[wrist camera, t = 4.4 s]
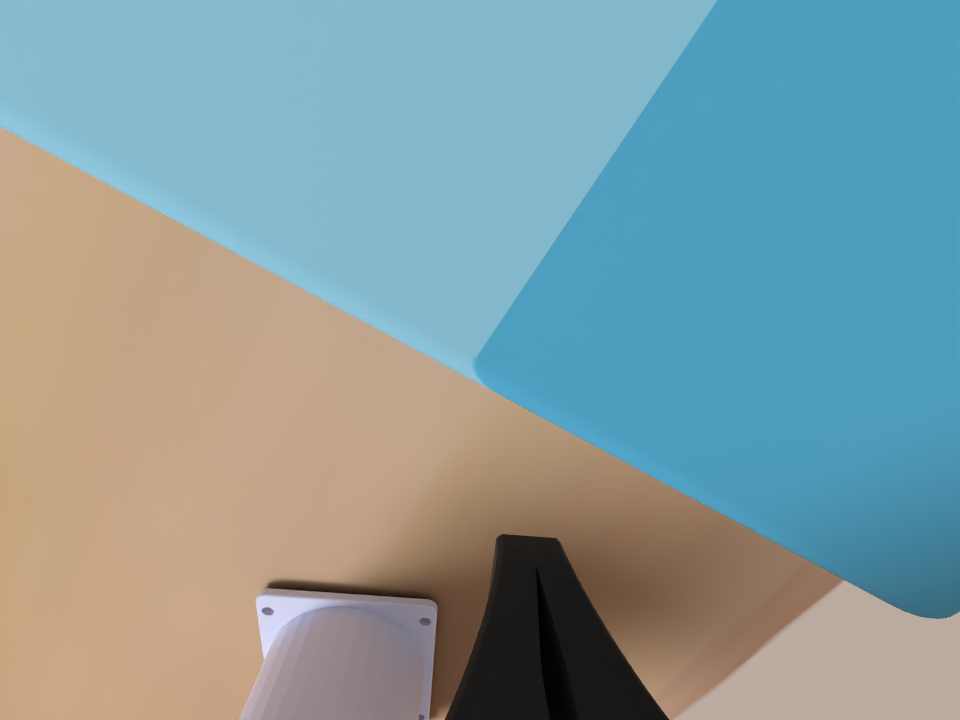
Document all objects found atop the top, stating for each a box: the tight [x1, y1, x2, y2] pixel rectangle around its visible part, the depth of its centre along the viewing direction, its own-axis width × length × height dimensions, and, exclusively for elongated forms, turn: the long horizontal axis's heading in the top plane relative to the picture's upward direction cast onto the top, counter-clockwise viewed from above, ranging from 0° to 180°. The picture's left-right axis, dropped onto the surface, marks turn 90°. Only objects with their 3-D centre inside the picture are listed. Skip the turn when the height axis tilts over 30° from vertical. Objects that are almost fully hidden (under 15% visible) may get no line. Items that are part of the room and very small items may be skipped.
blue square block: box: [0, 0, 960, 619], centre depth 8 cm, size 12×4×12 cm, turn 59°
